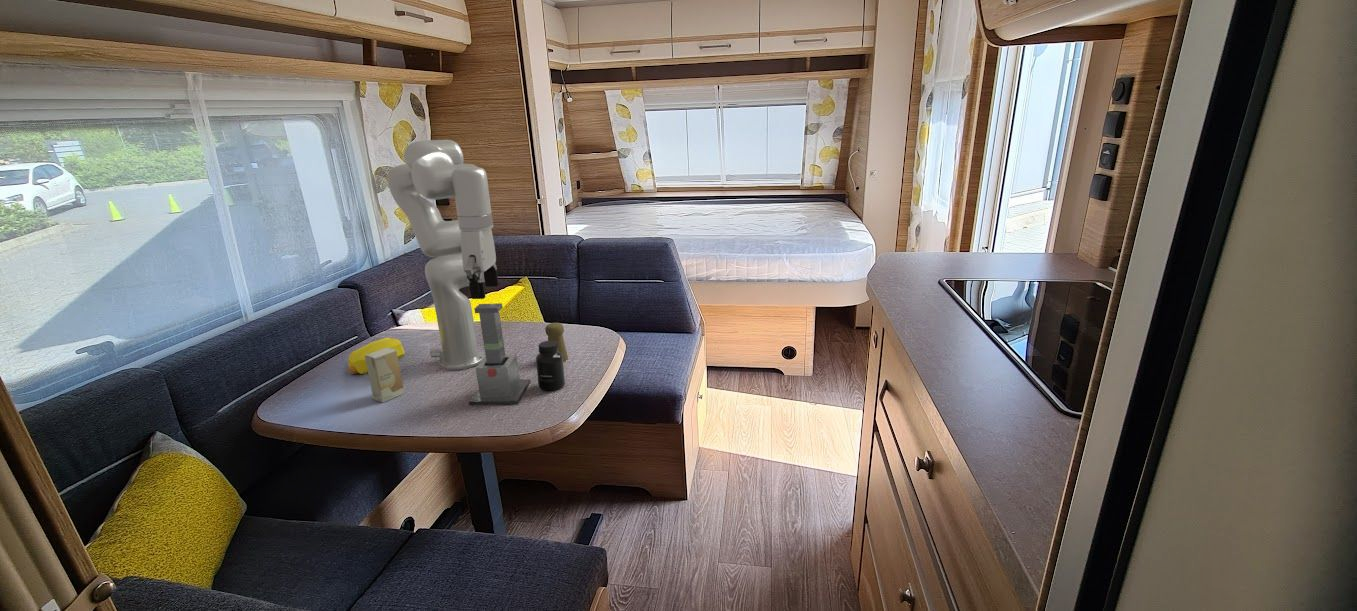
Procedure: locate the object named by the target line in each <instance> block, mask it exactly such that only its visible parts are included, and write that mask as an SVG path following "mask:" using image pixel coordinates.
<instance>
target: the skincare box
mask: <svg viewBox="0 0 1357 611" xmlns="http://www.w3.org/2000/svg"><path fill="white" fill-rule="evenodd" d="M365 359H366V364H367V369H368V373H367V374H368V379H369V384H370V388H371V395H372V398H373V400H375V401H377V402H380V403H386V402H388V401H390V400H392V399H395V398H397V397H399V396H402V395H404V394H405V389H404V384H403V378H402V373H401V368H400V363H399V359H398V356H397V351H396V350H394V349H391V348H385V349H382V350H378V351H375V352H373V353H370V354H367V355H365Z"/></svg>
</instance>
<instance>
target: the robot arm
mask: <svg viewBox="0 0 1357 611" xmlns="http://www.w3.org/2000/svg"><path fill="white" fill-rule="evenodd" d="M463 153H464V152H463V151H462V148H461V147H460V145H459V144H458V143H457V141H456V142H455V141H454V140H451V139H430V140H417V141H413V142H411V143H410V144H408V145H407V146H406V147H405V150H404V152H403V158H404V162H405V163H402V164H400V165H396V166H393V167H392V168H390V169H389V170H388V172H387V176H386V177H387V180H386V181H387V186H388V188H389V192H390V194H391V196H392V198H393V200H394V201H395V202H394V203H395V204H396V205H397V206H398V207H399V209H401V211H402V212H403V213H404V215H405V216H406V218H407V220H408V221H409V223H410V227H411V228H412V232H413V233H414V236H415V238H416V241H417V243H418V246H419V247H420V250H421V252H422V253H423V254H424V255H425V256H426V257H430V258H431V259H430V260H428V262H426V264H425V267H424V275H425V279H426V281H427V284H428V286H429V289H430V293H431V296H432V300H433V304H434V310H435V315H436V322H437V326H438V327H437V328H438V331H439V336H440V337H439V338H440V342H441V347H440V348H430V350H429V353H430V357H431V358H439V361H438V366H439V367H440V368H441V369H443V370H446V371H460V370H461V371H462V370H466V369H469V368H473V367H477V366H478V365H479V364H480V362H481V361H482V360H483V359H484V358H485V357H486V355H485V352H484V351H481V350H479V348H478V347H479V346H478V338H477V333H476V326H475V321H474V315H473V308H472V303H471V300H470V298H471V299H472V300H484V299H485V298H486V291H485V287H498V286H499V277H498V270H497V269H498V268H497V267H498V266H497V264H496V263H497V256H496V254H497V253H496V247H495V246H496V245H495V241H494V240H495V239H494V235H493V231H492V229H493V228H494V221H493V213H492V205H491V200H490V189H489V183H488V175H487V172H486V170H485V169H484V168H483V167H479V166H477V165H476V164H472V163H464V154H463ZM453 198H454V200H455V201H454V202H455V207H456V215H457V219H456V220H455V219H454V220H444V219H443V216H442V214H441V212H440V210H439V208H438V207H437V206H436V205H435V204H433V203H432V202H431V201H430V200H434V201H435V200H444V199H453ZM466 287H469V291H470V298H468V296H466V295H465V294H463V292H461V291H460V289H462V288H466Z"/></svg>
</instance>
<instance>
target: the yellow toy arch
mask: <svg viewBox="0 0 1357 611" xmlns="http://www.w3.org/2000/svg"><path fill="white" fill-rule="evenodd" d="M385 348H391V349H394V350H396V351H397V356H398V360H399V359H401V358H403V357H404V356H405V354H406V352H405V350H404V349H405V348H404V347H403V345H402V342H401V340H399V339H397V338H391V337H387V336H386V337H384V338H380V339H378V340H376V341H372V342H369V343H367V344H366V345H363V346H362V347H359V348H358V349H355V350H353V351H351V353H350V354H349V356H348V372H349V373H350V374H351V375H357V374H360V375H367V374H368V369H367V364H366V359H365V355H367V354H370V353H373V352H375V351H378V350H382V349H385Z"/></svg>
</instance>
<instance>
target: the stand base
mask: <svg viewBox="0 0 1357 611" xmlns="http://www.w3.org/2000/svg"><path fill="white" fill-rule="evenodd" d="M505 356H506V362H505V364H504V365H492V366H487V361H486V356H485V358H484V359H483V360H482V361H481V362H480V364H478V365H476V366H475V372H476V373H475V374H476V379H477V384H478V386H477V387H478V390H476V392H475V393H474V394H473V396H472V397H471V398H470V400H469V401H468V405H469V406H495V405H496V406H497V405H499V406H501V405H504V406H505V405H507V406H508V405H519V403H520V402H521V400H522V398H523V396H524V395H525V393H526V391H527V390H528V388H529V386H530V385H529V384H531V379H528V378H525V379H523V378H521V379H520V373H519V365H518V364H519V363H518V357H517V354H505ZM526 389H527V390H526Z"/></svg>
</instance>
